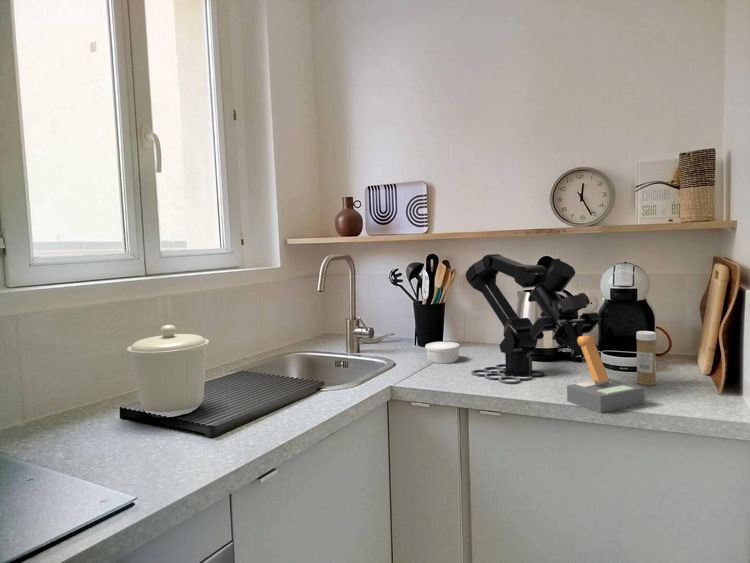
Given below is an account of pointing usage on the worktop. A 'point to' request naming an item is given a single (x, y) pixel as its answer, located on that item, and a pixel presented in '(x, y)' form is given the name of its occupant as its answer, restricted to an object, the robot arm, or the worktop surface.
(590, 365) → the lever
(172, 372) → the canister
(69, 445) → the worktop surface
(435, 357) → the ramekin
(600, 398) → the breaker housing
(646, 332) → the sprinkles bottle
